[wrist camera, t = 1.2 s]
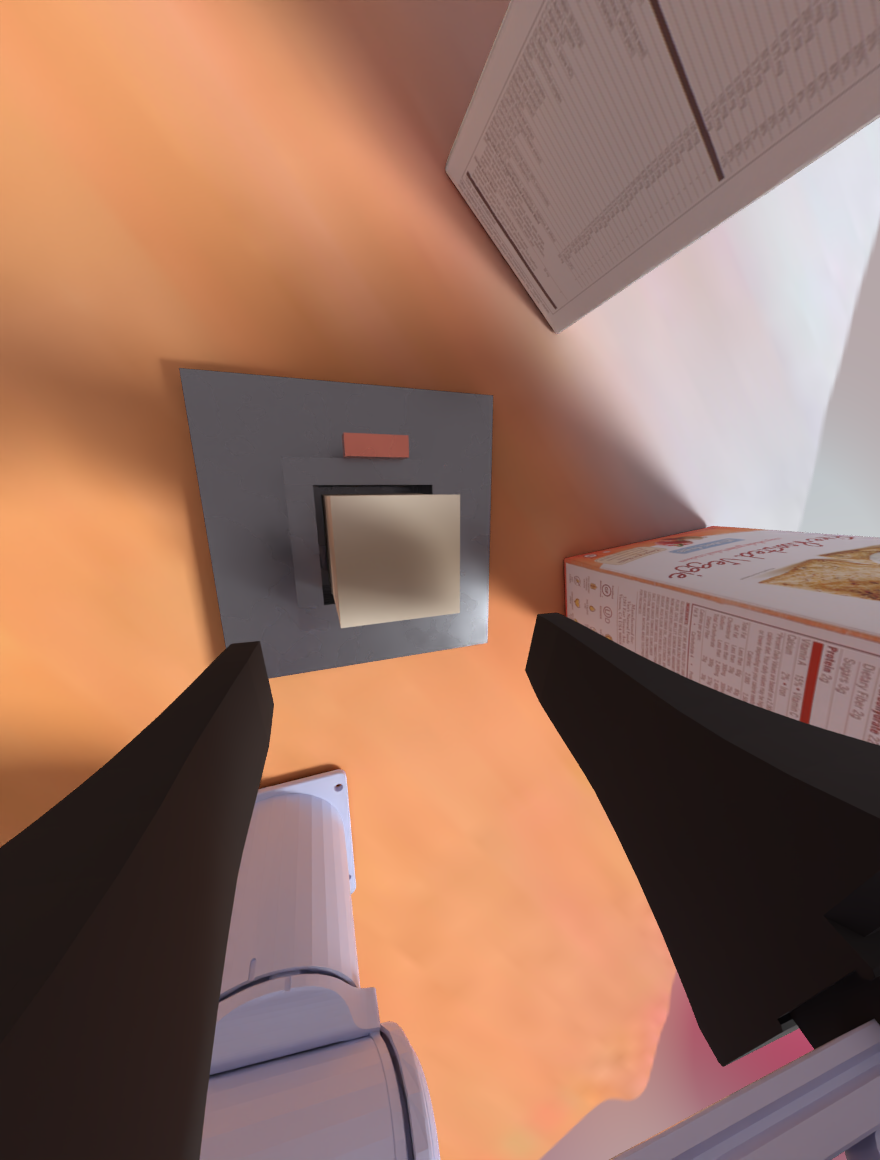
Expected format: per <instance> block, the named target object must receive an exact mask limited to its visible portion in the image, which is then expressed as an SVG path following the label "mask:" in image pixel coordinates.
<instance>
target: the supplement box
mask: <svg viewBox="0 0 880 1160" xmlns="http://www.w3.org/2000/svg"><path fill="white" fill-rule="evenodd" d="M879 117H880V0H511V1H510V3H509V6H508V8H507V11H506V13H505V16H504V18H503V21H502V23H501V26H500V28H499V31H498V33H497V36H496V38H495V41H494V43H493V46H492V48H491V51H490V53H489V56H488V58H487V61H486V63H485V66H484V68H483V71H482V73H481V76H480V78H479V81H478V84H477V86H476V89H475V91H474V94H473V96H472V99H471V102H470V104H469V106H468V109H467V111H466V113H465V116H464V118H463V121H462V123H461V126H460V128H459V131H458V133H457V136H456V139H455V141H454V143H453V146H452V148H451V151H450V154H449V156H448V159H447V162H446V167H445V170H446V173H447V174H448V176H449V177H450V179H451V180H452V182H453V183H454V185H455V186H456V188H457V189H458V190H459V192H460V193H461V195H462V196H463V198H464V199H465V201H466V202H467V204H468V205H469V207H470V208H471V210H472V211H473V212H474V214H475V215H476V217H477V218H478V220H479V221H480V223H481V224H482V226H483V227H484V229H485V230H486V232H487V233H488V235H489V236H490V238H491V239H492V240H493V242H494V243H495V245H496V246H497V248H498V249H499V251H500V252H501V254H502V255H503V257H504V258H505V260H506V261H507V263H508V264H509V266H510V267H511V268H512V270H513V271H514V273H515V274H516V276H517V277H518V279H519V280H520V282H521V283H522V285H523V286H524V287H525V289H526V290H527V292H528V293H529V295H530V296H531V298H532V299H533V301H534V302H535V304H536V305H537V307H538V308H539V309H540V311H541V312H542V314H543V315H544V317H545V318H546V320H547V321H548V323H549V324H550V326H551V327H552V329H553V330H554V332H555V333H557V334H559V333H561V332H562V331H563V330H565V329H566V328H568V327H569V326H571V325H572V324H574V323H575V322H577V321H578V320H580V319H581V318H582V317H584V316H585V315H587V314H588V313H590V312H591V311H593V310H594V309H596V308H597V307H599V306H600V305H602V304H603V303H605V302H606V301H608V300H609V299H611V298H612V297H614V296H615V295H617V294H618V293H619V292H621V291H622V290H624V289H625V288H627V287H628V286H630V285H631V284H633V283H634V282H636V281H637V280H639V279H640V278H642V277H643V276H645V275H646V274H648V273H649V272H651V271H652V270H654V269H655V268H657V267H658V266H660V265H661V264H663V263H664V262H666V261H667V260H669V259H670V258H672V257H673V256H675V255H676V254H678V253H679V252H681V251H682V250H684V249H685V248H687V247H688V246H690V245H691V244H693V243H694V242H696V241H697V240H699V239H700V238H702V237H703V236H705V235H706V234H708V233H709V232H710V231H712V230H713V229H715V228H716V227H718V226H719V225H721V224H722V223H723V222H725V221H726V220H728V219H729V218H731V217H732V216H734V215H735V214H737V213H738V212H740V211H741V210H743V209H744V208H746V207H747V206H749V205H750V204H752V203H753V202H755V201H756V200H758V199H759V198H761V197H762V196H764V195H766V194H767V193H769V192H770V191H772V190H773V189H775V188H776V187H777V186H779V185H780V184H782V183H783V182H785V181H786V180H788V179H789V178H791V177H792V176H794V175H795V174H797V173H798V172H800V171H801V170H802V169H804V168H805V167H807V166H808V165H810V164H811V163H813V162H814V161H816V160H817V159H819V158H820V157H822V156H823V155H825V154H826V153H828V152H829V151H831V150H832V149H834V148H835V147H837V146H838V145H840V144H841V143H843V142H844V141H845V140H847V139H848V138H850V137H851V136H853V135H854V134H856V133H857V132H859V131H860V130H861V129H863V128H864V127H866V126H867V125H869V124H870V123H872V122H873V121H875V120H876V119H878V118H879Z"/></svg>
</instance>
